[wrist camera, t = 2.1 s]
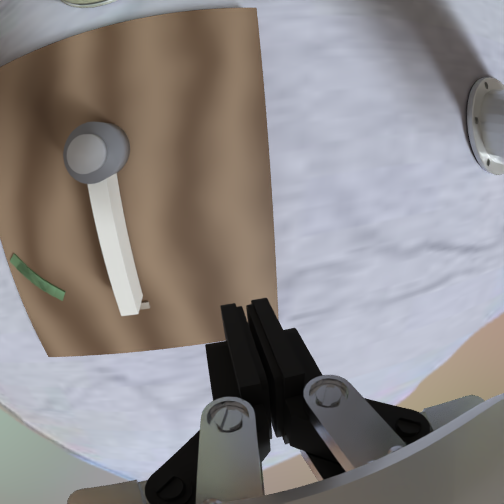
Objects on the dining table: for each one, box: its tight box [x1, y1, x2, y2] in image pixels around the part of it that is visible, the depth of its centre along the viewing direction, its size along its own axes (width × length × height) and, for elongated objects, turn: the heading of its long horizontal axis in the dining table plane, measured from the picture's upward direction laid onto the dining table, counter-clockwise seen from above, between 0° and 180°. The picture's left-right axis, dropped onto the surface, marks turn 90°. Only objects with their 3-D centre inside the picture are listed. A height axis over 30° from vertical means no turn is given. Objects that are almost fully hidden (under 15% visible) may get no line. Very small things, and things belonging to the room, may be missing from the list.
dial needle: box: [63, 122, 143, 316], centre depth 19 cm, size 4×14×4 cm, turn 4°
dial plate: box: [0, 8, 278, 357], centre depth 21 cm, size 24×28×2 cm
